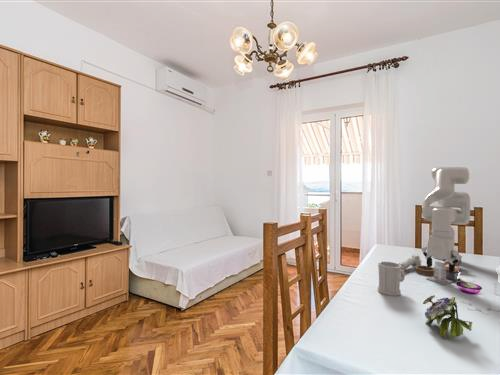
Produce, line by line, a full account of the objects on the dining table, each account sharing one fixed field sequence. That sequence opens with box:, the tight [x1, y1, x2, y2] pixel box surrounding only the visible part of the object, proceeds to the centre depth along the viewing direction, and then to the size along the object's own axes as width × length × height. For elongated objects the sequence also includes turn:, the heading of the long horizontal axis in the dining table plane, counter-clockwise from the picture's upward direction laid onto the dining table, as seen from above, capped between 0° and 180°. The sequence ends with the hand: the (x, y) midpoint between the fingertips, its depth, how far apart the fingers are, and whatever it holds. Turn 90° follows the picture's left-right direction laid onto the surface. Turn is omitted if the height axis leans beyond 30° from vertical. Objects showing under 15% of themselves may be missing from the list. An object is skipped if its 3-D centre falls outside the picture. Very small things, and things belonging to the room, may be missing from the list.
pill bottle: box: [433, 260, 446, 281], centre depth 132 cm, size 5×5×8 cm
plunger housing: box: [446, 270, 459, 283], centre depth 135 cm, size 6×6×4 cm
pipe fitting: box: [443, 249, 462, 267], centre depth 151 cm, size 12×8×10 cm
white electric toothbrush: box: [398, 253, 422, 272], centre depth 151 cm, size 5×7×25 cm
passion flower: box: [422, 295, 473, 340], centre depth 87 cm, size 13×12×14 cm
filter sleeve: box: [414, 265, 434, 277], centre depth 144 cm, size 9×9×2 cm
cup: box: [377, 261, 406, 297], centre depth 118 cm, size 10×9×12 cm
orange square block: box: [445, 264, 460, 272], centre depth 135 cm, size 5×5×5 cm
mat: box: [426, 276, 455, 286], centre depth 132 cm, size 8×8×1 cm
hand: (440, 269), depth 132 cm, fingers open, 9 cm apart
